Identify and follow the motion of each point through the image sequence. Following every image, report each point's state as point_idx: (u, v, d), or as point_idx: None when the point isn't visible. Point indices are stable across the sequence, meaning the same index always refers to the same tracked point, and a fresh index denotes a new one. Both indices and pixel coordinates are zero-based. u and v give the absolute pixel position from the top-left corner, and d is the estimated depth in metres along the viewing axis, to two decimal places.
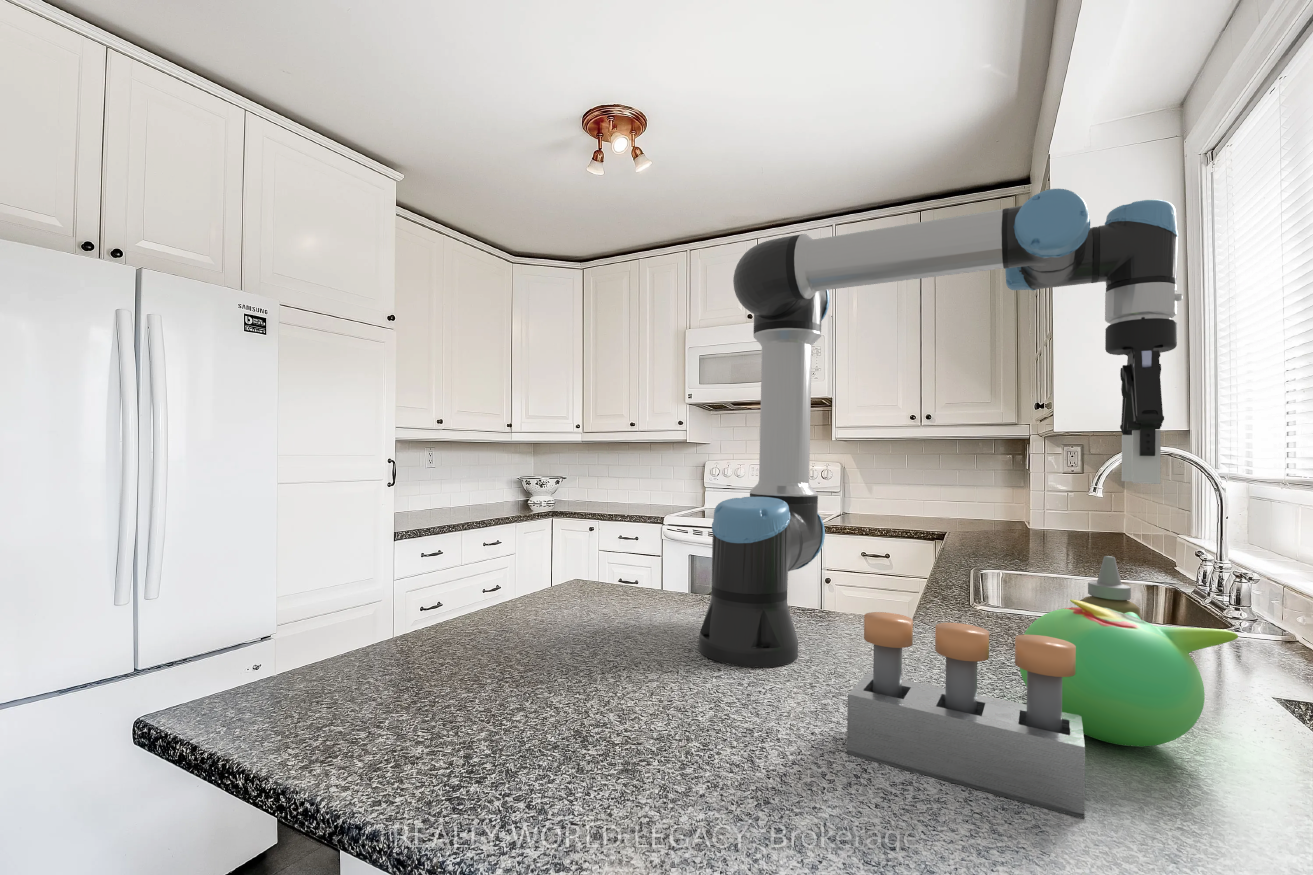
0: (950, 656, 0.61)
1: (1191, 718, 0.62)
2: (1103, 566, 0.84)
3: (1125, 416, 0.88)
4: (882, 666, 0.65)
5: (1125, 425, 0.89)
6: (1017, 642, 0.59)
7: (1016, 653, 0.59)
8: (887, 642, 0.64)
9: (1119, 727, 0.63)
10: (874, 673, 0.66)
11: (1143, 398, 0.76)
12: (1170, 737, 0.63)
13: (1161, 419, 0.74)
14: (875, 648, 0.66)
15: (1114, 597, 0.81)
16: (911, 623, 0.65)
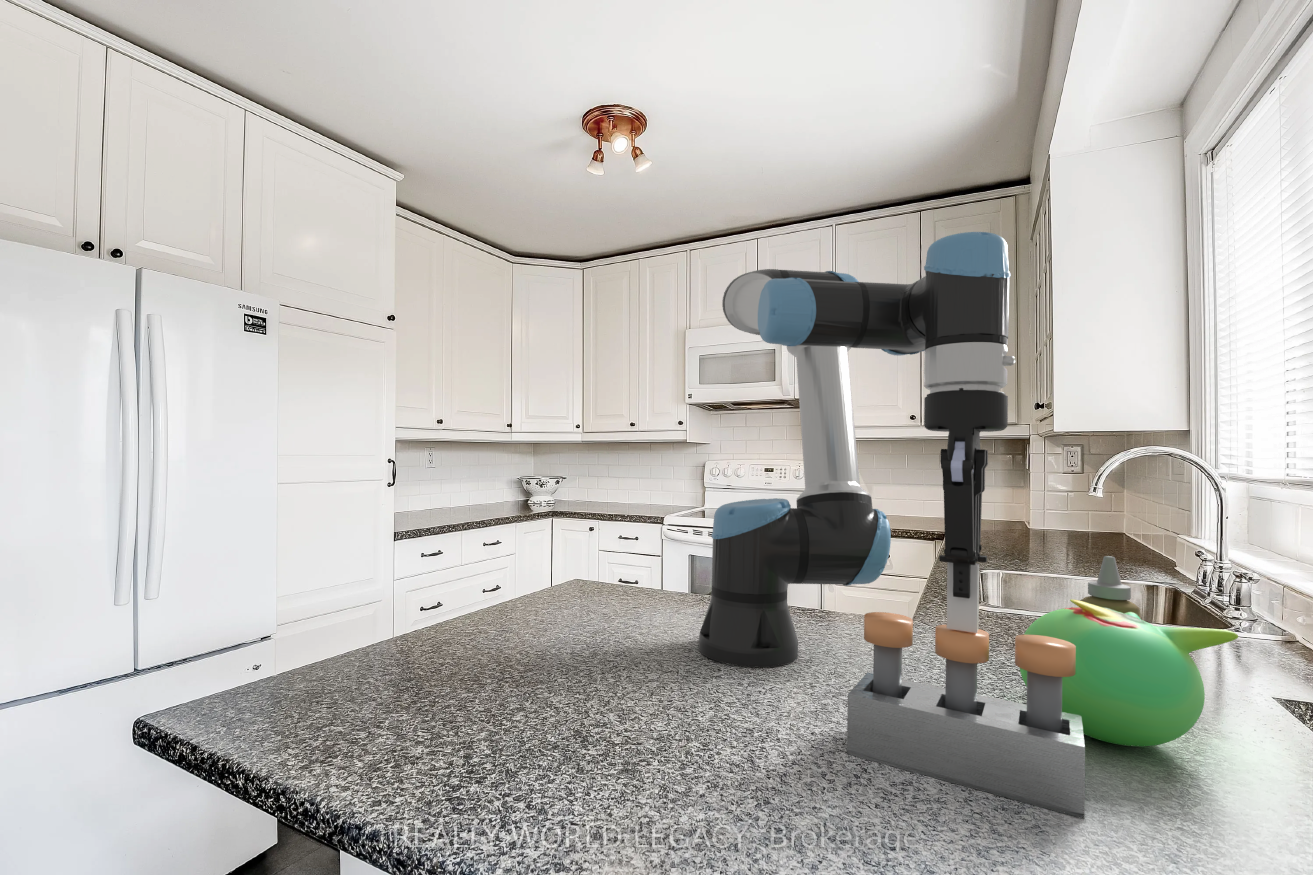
0: (950, 658, 0.61)
1: (1191, 718, 0.62)
2: (1103, 566, 0.84)
3: None
4: (882, 666, 0.65)
5: None
6: (1017, 642, 0.59)
7: (1016, 653, 0.59)
8: (887, 642, 0.64)
9: (1119, 727, 0.63)
10: (874, 673, 0.66)
11: (952, 530, 0.59)
12: (1170, 737, 0.63)
13: (971, 559, 0.59)
14: (875, 648, 0.66)
15: (1114, 597, 0.82)
16: (911, 623, 0.65)
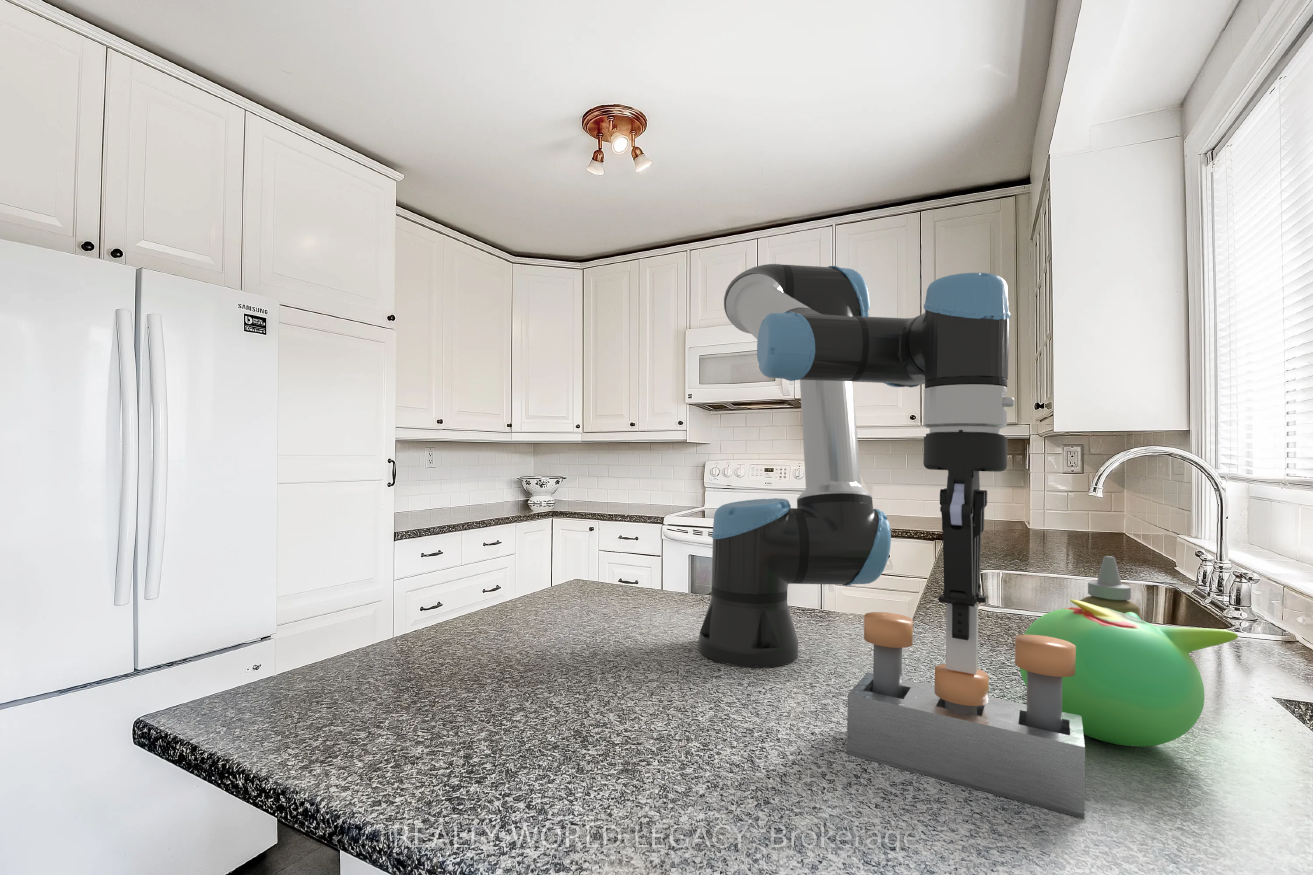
0: (949, 700, 0.61)
1: (1191, 718, 0.62)
2: (1103, 566, 0.84)
3: None
4: (882, 666, 0.65)
5: None
6: (1017, 642, 0.59)
7: (1016, 653, 0.59)
8: (887, 642, 0.64)
9: (1119, 727, 0.63)
10: (874, 673, 0.66)
11: (951, 573, 0.59)
12: (1170, 737, 0.63)
13: (970, 602, 0.59)
14: (875, 648, 0.66)
15: (1114, 597, 0.82)
16: (911, 623, 0.65)
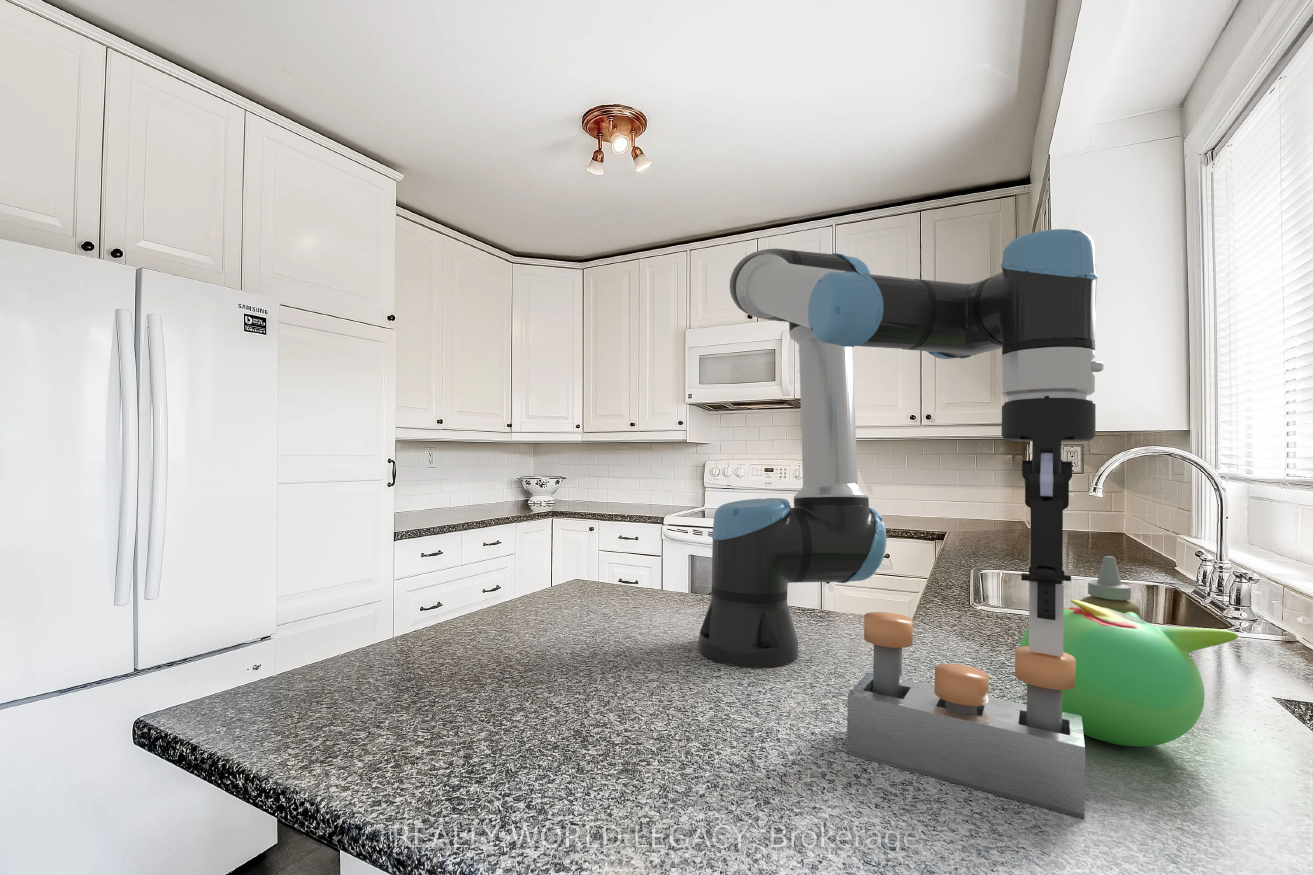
0: (949, 700, 0.61)
1: (1191, 718, 0.62)
2: (1103, 566, 0.84)
3: None
4: (882, 666, 0.65)
5: None
6: (1017, 654, 0.59)
7: (1016, 665, 0.59)
8: (887, 642, 0.64)
9: (1119, 727, 0.63)
10: (874, 673, 0.66)
11: (1039, 547, 0.55)
12: (1170, 737, 0.63)
13: (1060, 579, 0.55)
14: (875, 648, 0.66)
15: (1114, 597, 0.81)
16: (911, 623, 0.65)
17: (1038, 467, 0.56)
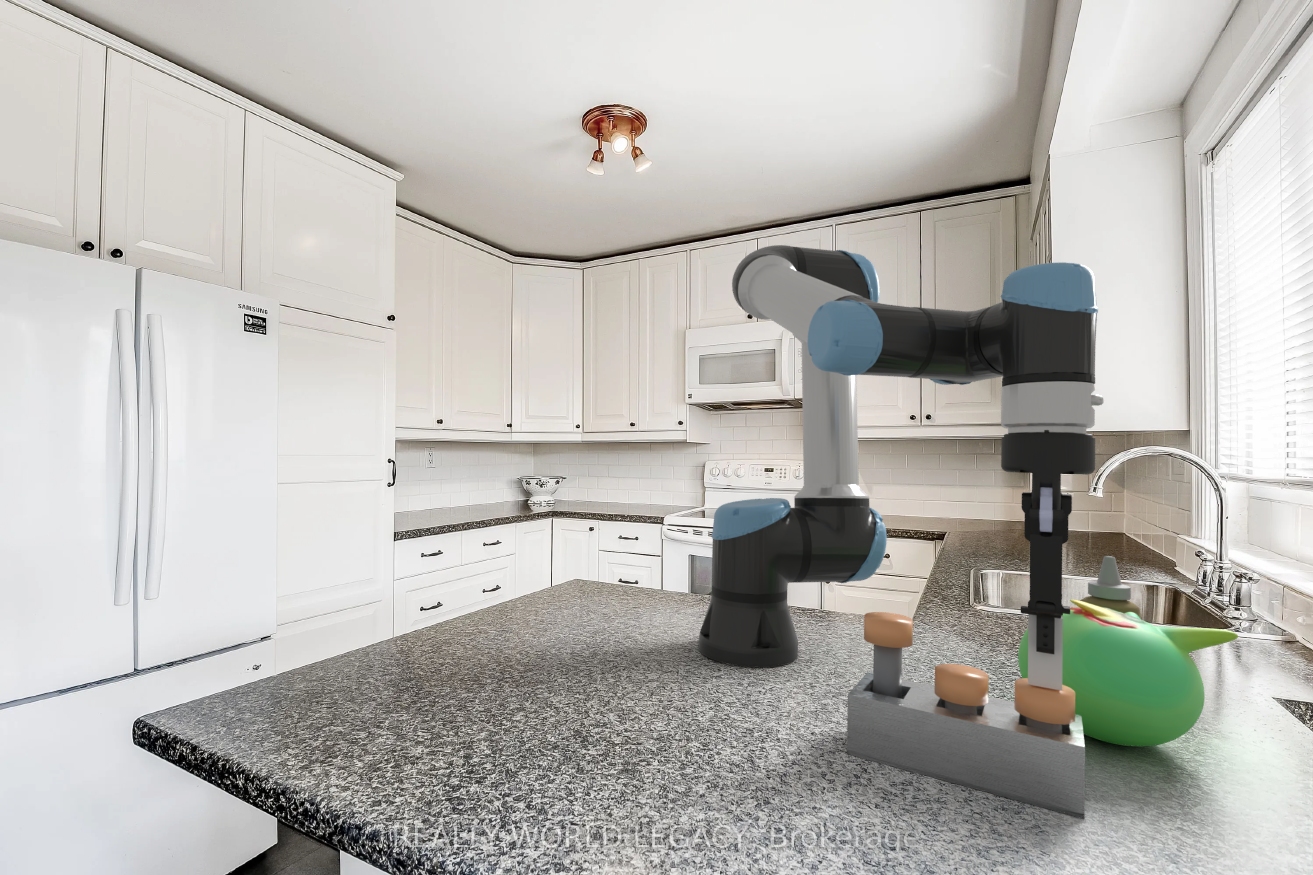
0: (949, 700, 0.61)
1: (1191, 718, 0.62)
2: (1103, 566, 0.84)
3: None
4: (882, 666, 0.65)
5: None
6: (1017, 687, 0.59)
7: (1016, 698, 0.59)
8: (887, 642, 0.64)
9: (1119, 727, 0.63)
10: (874, 673, 0.66)
11: (1038, 582, 0.55)
12: (1170, 737, 0.63)
13: (1059, 614, 0.55)
14: (875, 648, 0.66)
15: (1114, 597, 0.82)
16: (911, 623, 0.65)
17: (1038, 502, 0.56)
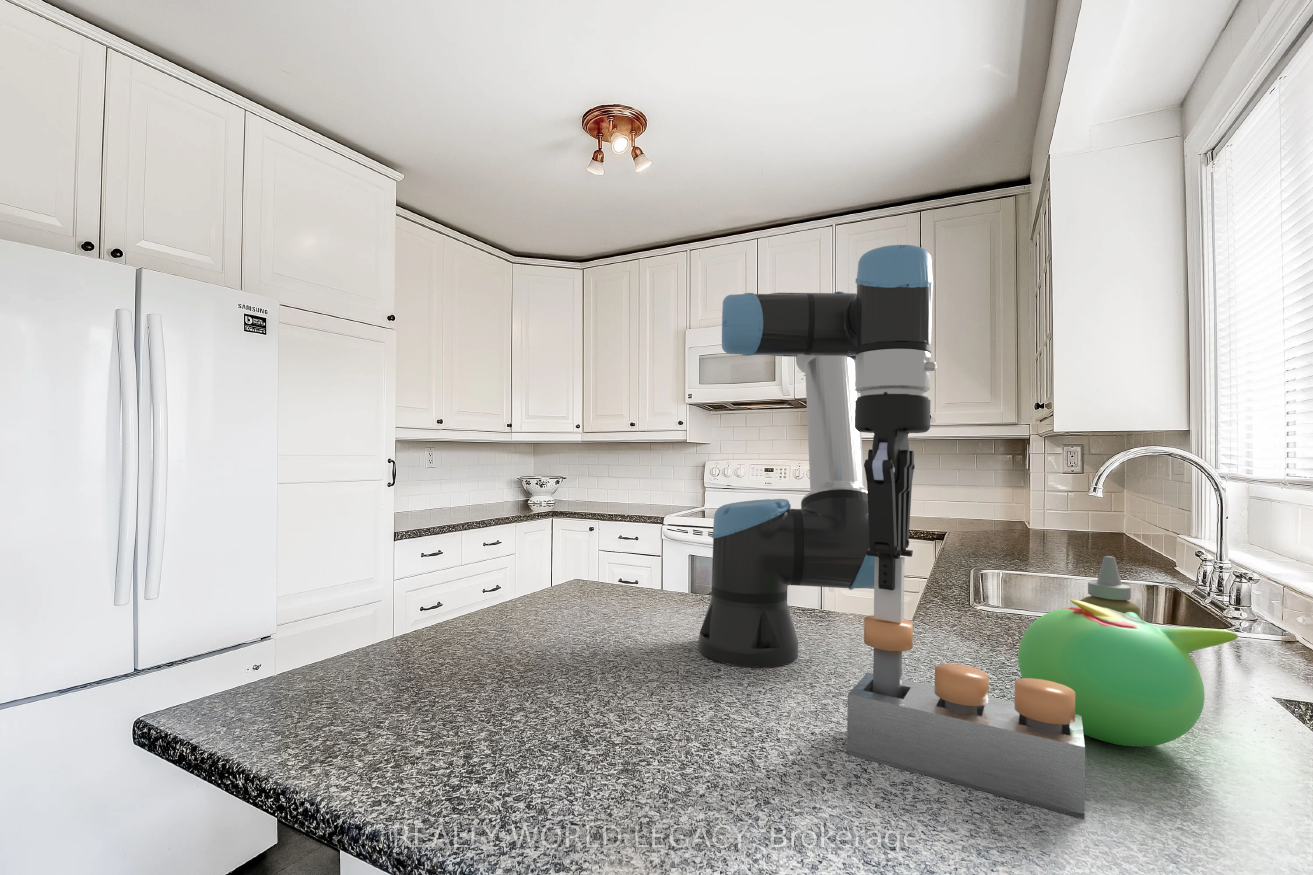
0: (949, 700, 0.61)
1: (1191, 718, 0.62)
2: (1103, 566, 0.84)
3: None
4: (882, 670, 0.65)
5: None
6: (1017, 687, 0.59)
7: (1016, 698, 0.59)
8: (887, 646, 0.64)
9: (1119, 727, 0.63)
10: (874, 677, 0.66)
11: (875, 525, 0.63)
12: (1170, 737, 0.63)
13: (893, 553, 0.63)
14: (875, 651, 0.66)
15: (1114, 597, 0.82)
16: (911, 626, 0.65)
17: (876, 455, 0.63)
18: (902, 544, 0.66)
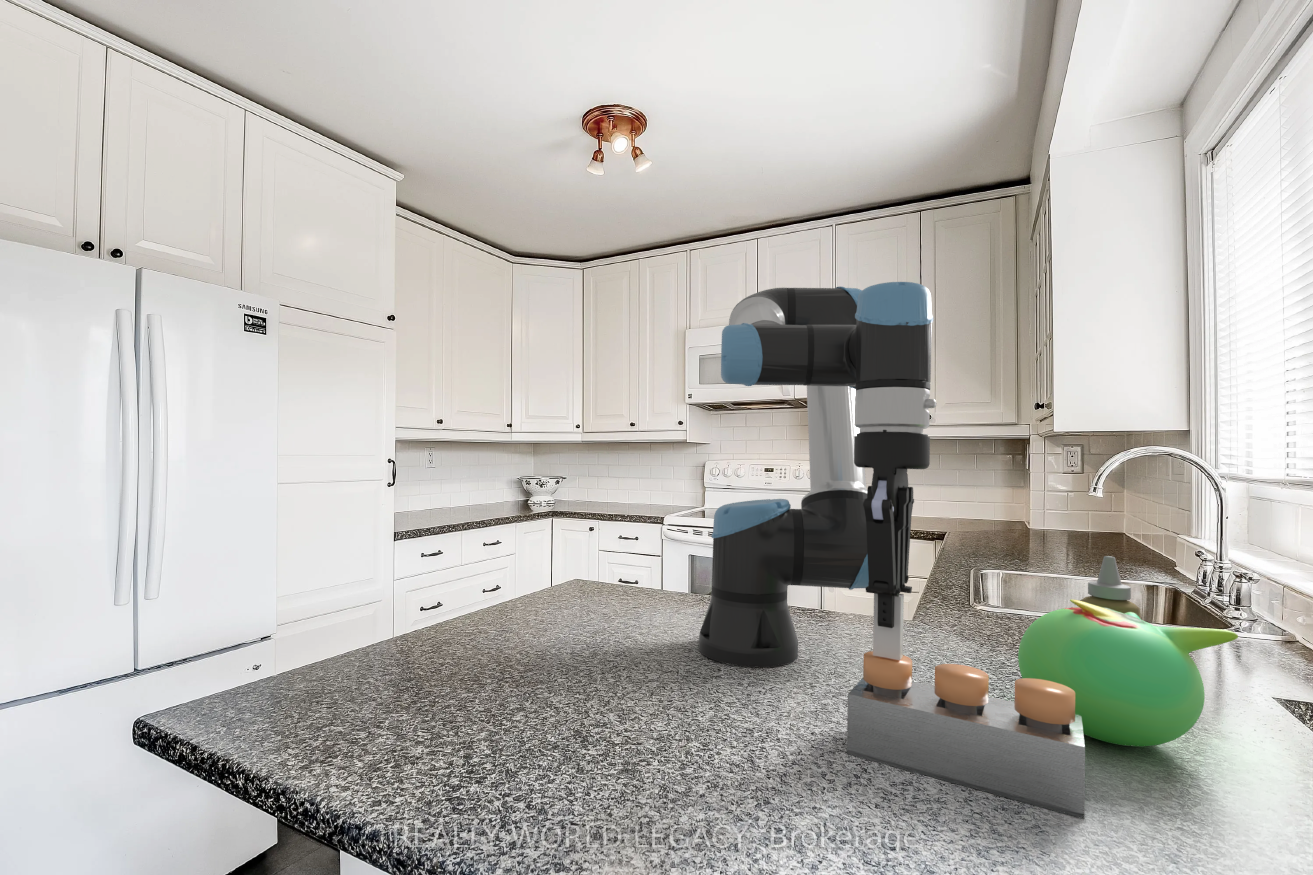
0: (949, 700, 0.61)
1: (1191, 718, 0.62)
2: (1103, 566, 0.84)
3: None
4: None
5: None
6: (1017, 687, 0.59)
7: (1016, 698, 0.59)
8: (886, 684, 0.64)
9: (1119, 727, 0.63)
10: None
11: (874, 564, 0.63)
12: (1170, 737, 0.63)
13: (892, 592, 0.63)
14: (874, 688, 0.66)
15: (1114, 597, 0.81)
16: (910, 664, 0.64)
17: (875, 493, 0.63)
18: (901, 581, 0.66)
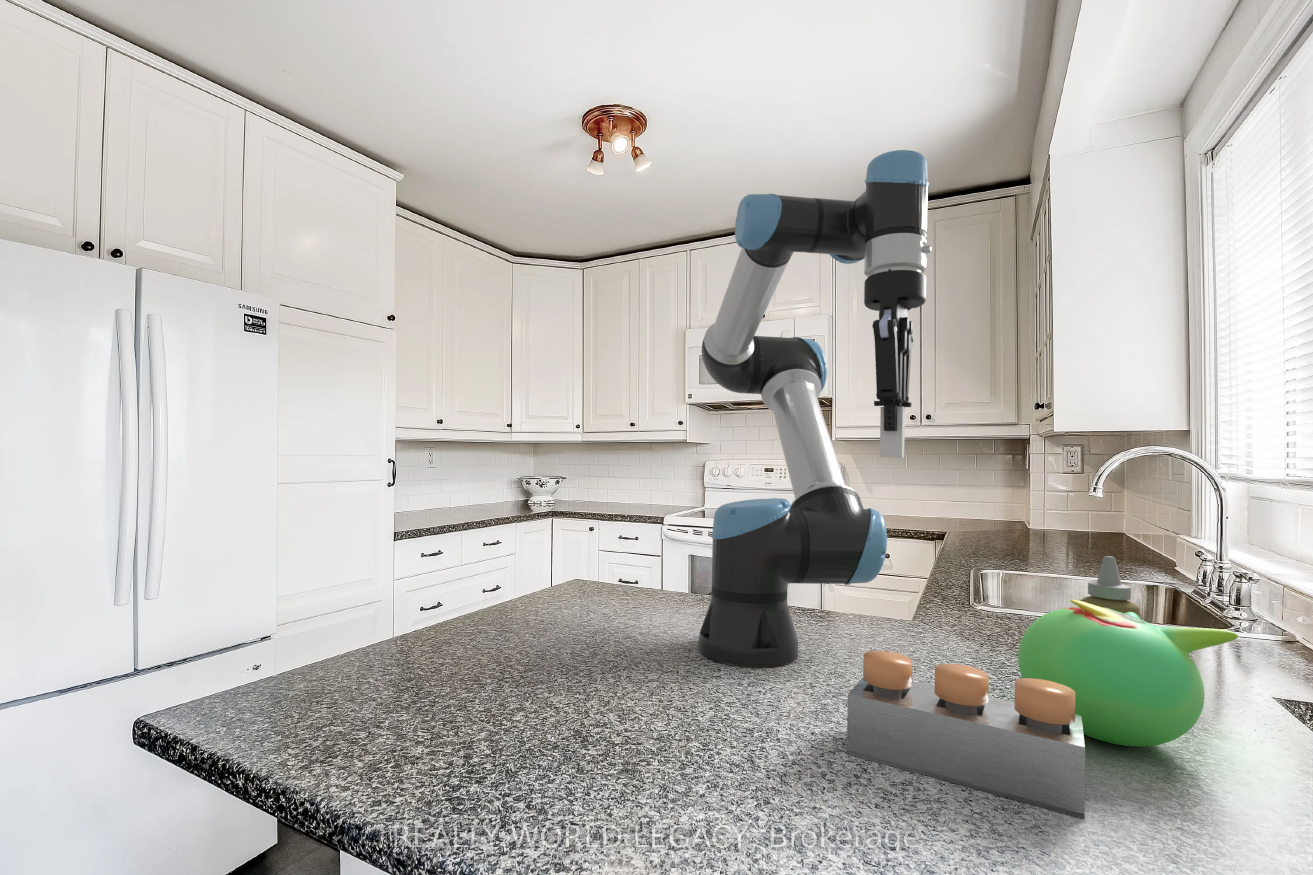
0: (949, 700, 0.61)
1: (1191, 718, 0.62)
2: (1103, 566, 0.84)
3: None
4: None
5: None
6: (1017, 687, 0.59)
7: (1016, 698, 0.59)
8: (886, 684, 0.64)
9: (1119, 727, 0.63)
10: None
11: (881, 376, 0.78)
12: (1170, 737, 0.63)
13: (896, 398, 0.78)
14: (874, 688, 0.66)
15: (1114, 597, 0.82)
16: (910, 664, 0.64)
17: (882, 319, 0.78)
18: (903, 397, 0.81)
